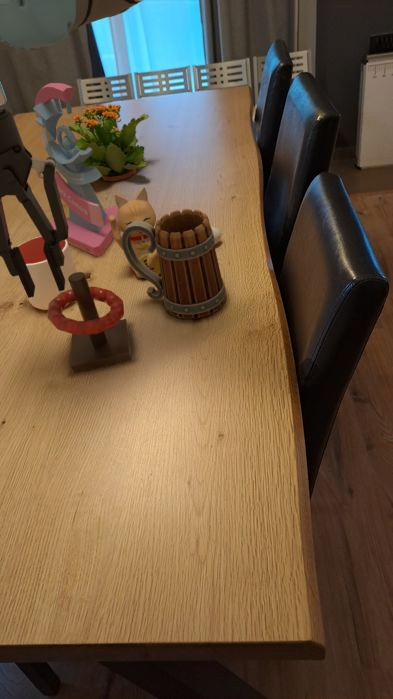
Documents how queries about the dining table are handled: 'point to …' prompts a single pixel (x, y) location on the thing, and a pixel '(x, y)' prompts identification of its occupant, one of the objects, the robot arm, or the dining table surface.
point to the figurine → (139, 241)
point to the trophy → (73, 174)
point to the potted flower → (110, 142)
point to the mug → (181, 263)
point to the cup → (45, 271)
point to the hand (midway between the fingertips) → (46, 288)
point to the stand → (99, 346)
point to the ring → (88, 325)
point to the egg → (216, 234)
